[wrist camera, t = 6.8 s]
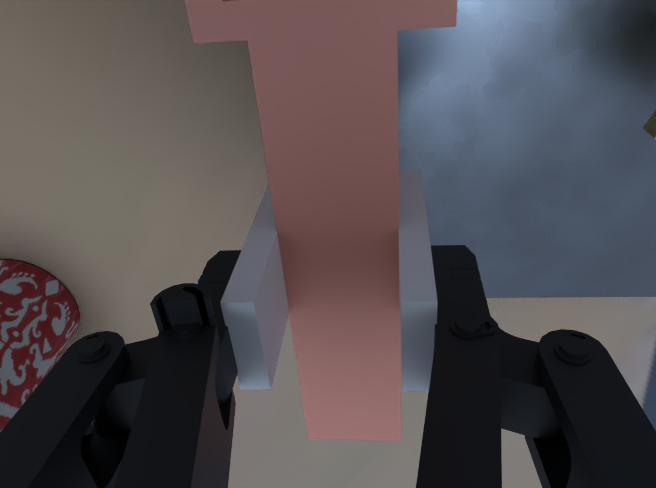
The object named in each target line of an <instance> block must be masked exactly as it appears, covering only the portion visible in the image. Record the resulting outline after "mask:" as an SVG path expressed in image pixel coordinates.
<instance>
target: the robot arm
mask: <svg viewBox="0 0 656 488" xmlns="http://www.w3.org/2000/svg"><path fill="white" fill-rule="evenodd" d="M399 303H400V340H401V372H402V391H406V392H429V393H428V401H427V408H426V416H425V424H424V431H423V439H422V446H421V454H420V462H419V469H418V477H417V484H416V488H502V467H501V428H502V429H505V430H509V431H512V432H516V433H519V434H522V435H525V439H526V442H527V445H528V448H529V451H530V454H531V456H532V459H533V462H534V465H535V468H536V471H537V474H538V476H539V479H540V482H541V485H542V488H656V431H655V429H654V428H653V426H652V424H651V423H650V421H649V419H648V418H647V416H646V414H645V413H644V411H643V409H642V408H641V406H640V404H639V403H638V401H637V399H636V398H635V396H634V394H633V393H632V391H631V389H630V388H629V386H628V384H627V383H626V381H625V379H624V378H623V376H622V374H621V373H620V371H619V369H618V368H617V366H616V365H615V363H614V361H613V360H612V358H611V356H610V355H609V353H608V351H607V350H606V348H605V347H604V346H603V345H602V344H601V343H600V342H599V341H598V340H596V339H594V338H593V337H591V336H589V335H588V334H585V333H581V332H578V331H575V330H563V329H561V330H556V331H551V332H549V333H547V334H546V335H544V336H542V338H541V340H540V342H535V341H530V340H526V339H522V338H518V337H515V336H512V335H510V334H508V333H506V332H504V331H503V330H501V329H500V328H499V327H498V324H497V323H496V321H495V320H494V319H493V318H492V317H491V316H490V313H489V309H488V305H487V301H486V297H485V293H484V289H483V285H482V281H481V276H480V272H479V270H478V264H477V260H476V256H475V255H474V254H473V253H472V252H471V251H470V250H469V249H468V248H467V247H466V246H465V245H432V246H431V245H430V237H429V229H428V221H427V213H426V205H425V197H424V189H423V182H422V174H421V169H417V170H399ZM150 305H151V308H152V311H153V314H154V318H155V321H156V324H157V327H158V330H159V334H158V336H157V337H154V338H151V339H147V340H143V341H139V342H134V343H130V344H126V345H125V342H124V340H123V338H122V337H121V336H120V335H119V334H118V333H115V332H110V331H103V332H96V333H93V334H90V335H87V336H85V337H83V338H81V339H79V340H78V341H76V342H75V343H74V344H73V345H71V346H70V347H69V348H68V349H67V350H66V352H65V353H64V354H63V355H62V357H61V358H60V359H59V360H58V362H57V363H56V364H55V365H54V367H53V368H52V369H51V370H50V371H49V373H48V374H47V375H46V376H45V378H44V379H43V380H42V381H41V383H40V384H39V385H38V386H37V388H36V389H35V390H34V391H33V392H32V394H31V395H30V396H29V397H28V399H27V400H26V401H25V402H24V404H23V405H22V406H21V407H20V409H19V410H18V411H17V412H16V414H15V415H14V416H13V417H12V418H11V420H10V421H9V422H8V423H7V425H6V426H5V427H4V428H3V430H2V431H1V432H0V488H228V480H229V469H230V458H231V448H232V437H233V426H234V416H235V405H236V403H235V397H234V393H233V386H234V382H235V379H236V376H238V380H239V384H240V389H250V390H271V387H272V382H273V378H274V374H275V369H276V365H277V361H278V357H279V352H280V348H281V344H282V339H283V335H284V331H285V327H286V322H287V318H288V314H289V308H288V301H287V295H286V288H285V282H284V275H283V269H282V262H281V256H280V249H279V243H278V236H277V232H276V225H275V219H274V212H273V205H272V199H271V192H270V186H269V184H268V187H267V189H266V192H265V194H264V197H263V199H262V201H261V204H260V206H259V209H258V211H257V214H256V216H255V219H254V221H253V223H252V226H251V228H250V231H249V233H248V236H247V238H246V241H245V243H244V246H243V248H242V250H231V251H219V252H218V253H217V254H216V255H215V256H213V257H212V258H211V259H210V260H209V261H208V262H207V264H206V266H205V268H204V271H203V275H201V277H200V279H199V281H198V284H195V283H184V284H179V285H174V286H171V287H169V288H167V289H165V290H163V291H161V292H160V293H159V294H158V295H156V296H155V297H154V299H153V300H152V302H151V303H150Z"/></svg>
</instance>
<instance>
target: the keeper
mask: <svg viewBox="0 0 656 488" xmlns="http://www.w3.org/2000/svg"><path fill="white" fill-rule="evenodd" d="M643 129H644V130H645V131H647V132H648V133H649V134H650V135H651V136H652V137H653V138H654V139H656V110H655V112H654V113H653V114H652V116H651V117H650V118H649V120H648V121H647V122H646V124H645V125H644V126H643Z"/></svg>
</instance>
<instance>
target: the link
mask: <svg viewBox="0 0 656 488" xmlns="http://www.w3.org/2000/svg"><path fill="white" fill-rule="evenodd" d="M185 5H186V10H187V14H188V19H189V24H190V29H191V34H192V39H193V44H199V43H214V42H230V41H245V40H247V42H248V48H249V55H250V61H251V68H252V74H253V81H254V88H255V94H256V101H257V107H258V114H259V120H260V127H261V133H262V140H263V147H264V153H265V160H266V166H267V173H268V179H269V186H270V192H271V199H272V205H273V212H274V219H275V225H276V232H277V236H278V243H279V249H280V256H281V262H282V269H283V275H284V282H285V288H286V295H287V301H288V308H289V317H290V323H291V330H292V337H293V343H294V350H295V356H296V363H297V369H298V376H299V382H300V389H301V395H302V402H303V409H304V415H305V422H306V428H307V435H308V439H319V440H363V441H402V417H401V340H400V303H399V142H398V51H397V31H398V30H413V29H429V28H444V27H456V18H457V0H185Z"/></svg>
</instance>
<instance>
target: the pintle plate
mask: <svg viewBox="0 0 656 488" xmlns="http://www.w3.org/2000/svg"><path fill="white" fill-rule="evenodd" d="M397 51H398V142H399V170H417V169H421V174H422V182H423V189H424V197H425V205H426V213H427V221H428V229H429V237H430V245H431V246H432V245H465V246H466V247H467V248H468V249H469V250H470V251H471V252H472V253H473V254H474V255H475V256H476V260H477V264H478V270H479V272H480V276H481V281H482V285H483V289H484V293H485V297H486V298H521V297H656V139H654V138H653V137H652V136H651V135H650V134H649V133H648V132H647V131H645V130H644V129H643V126H644V125H645V124H646V122H647V121H648V120H649V118H650V117H651V116H652V114H653V113H654V112H655V110H656V0H457V18H456V27H444V28H429V29H413V30H398V31H397Z"/></svg>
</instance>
